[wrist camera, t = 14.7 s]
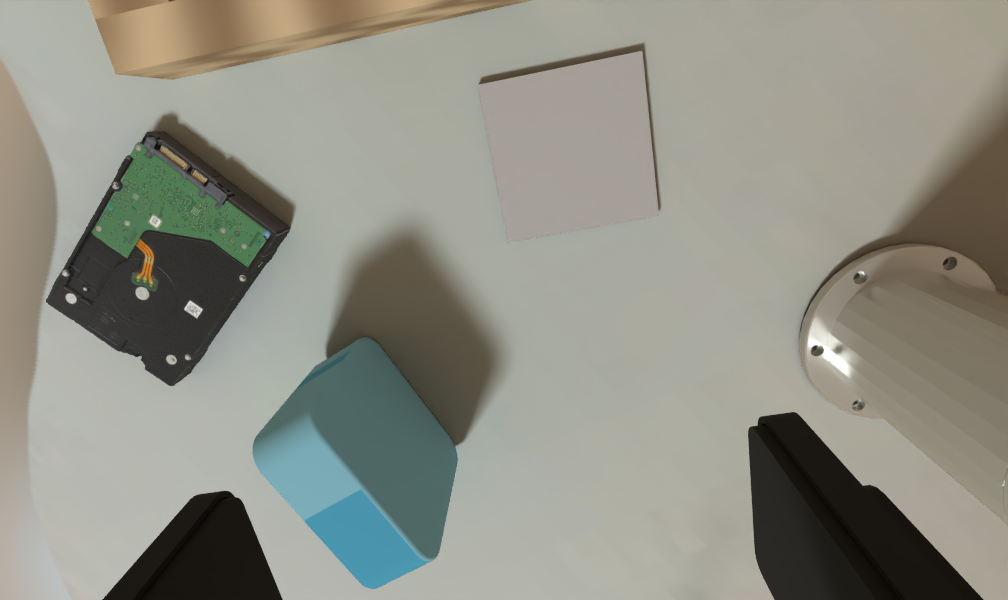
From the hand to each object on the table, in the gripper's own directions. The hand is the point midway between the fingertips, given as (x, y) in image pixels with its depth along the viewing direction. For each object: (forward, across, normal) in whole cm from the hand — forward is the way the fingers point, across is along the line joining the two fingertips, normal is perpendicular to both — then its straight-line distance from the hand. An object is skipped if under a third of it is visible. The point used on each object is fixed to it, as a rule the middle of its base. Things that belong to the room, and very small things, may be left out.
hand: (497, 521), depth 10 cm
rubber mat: (+28, -4, -4) cm, 29 cm away
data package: (+29, +12, +12) cm, 33 cm away
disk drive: (+29, +24, -2) cm, 38 cm away
